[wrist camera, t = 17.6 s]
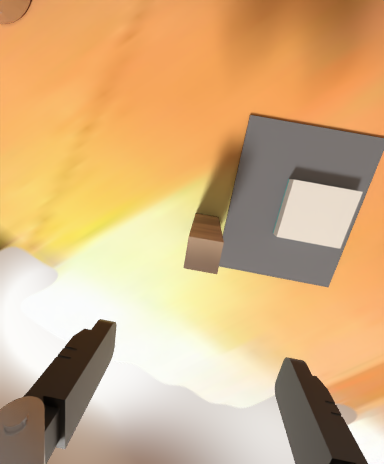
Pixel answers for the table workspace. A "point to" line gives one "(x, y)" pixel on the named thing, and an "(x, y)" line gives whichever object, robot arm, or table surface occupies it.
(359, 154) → the mat
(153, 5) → the table surface
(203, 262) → the walnut stick
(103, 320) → the robot arm
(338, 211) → the tile
